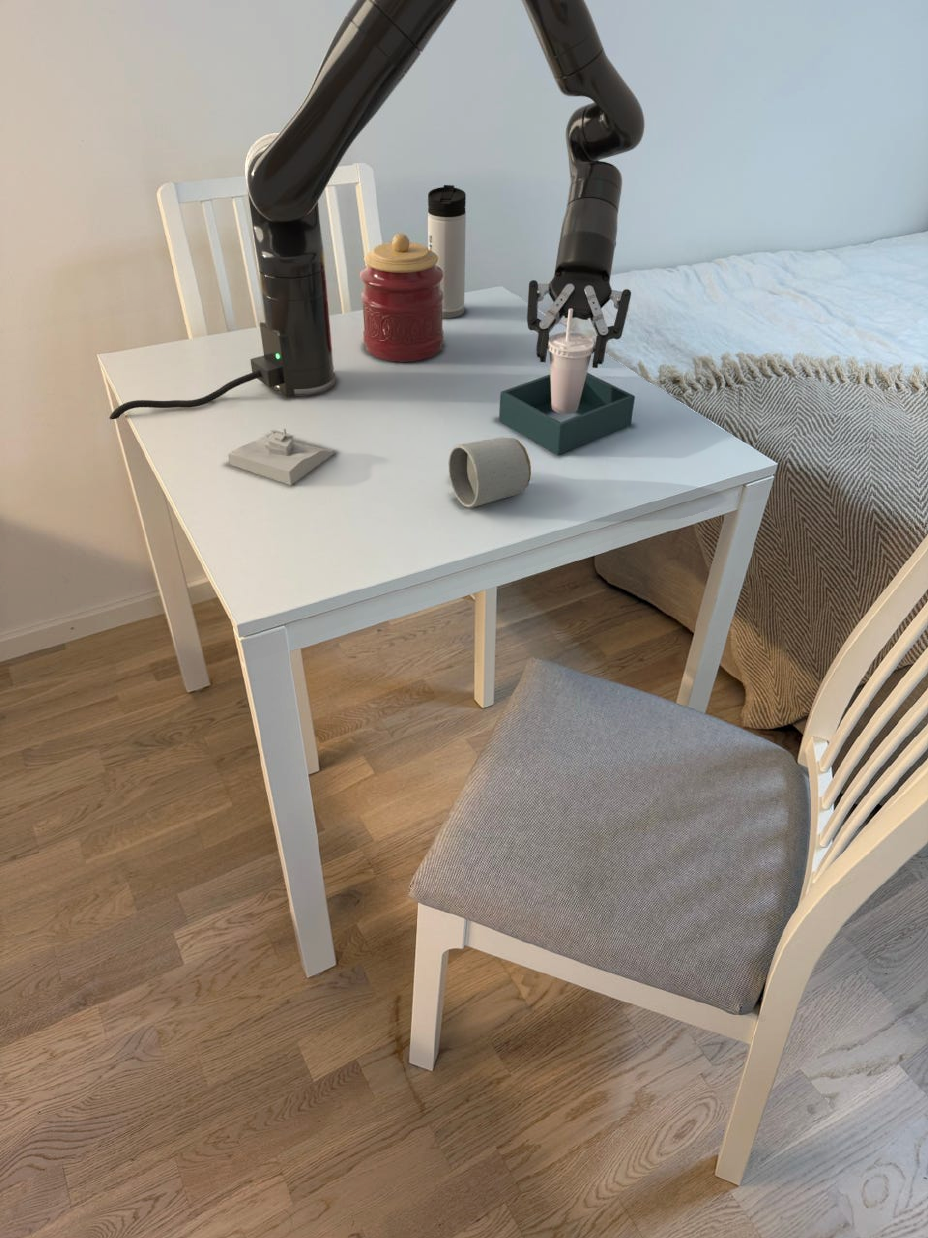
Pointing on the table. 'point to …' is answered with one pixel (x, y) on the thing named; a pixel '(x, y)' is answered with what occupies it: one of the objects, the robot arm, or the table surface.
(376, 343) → the kitchen canister
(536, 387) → the bin
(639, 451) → the table surface
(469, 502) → the ceramic mug
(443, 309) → the travel mug
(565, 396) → the smoothie
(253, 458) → the miniature house
